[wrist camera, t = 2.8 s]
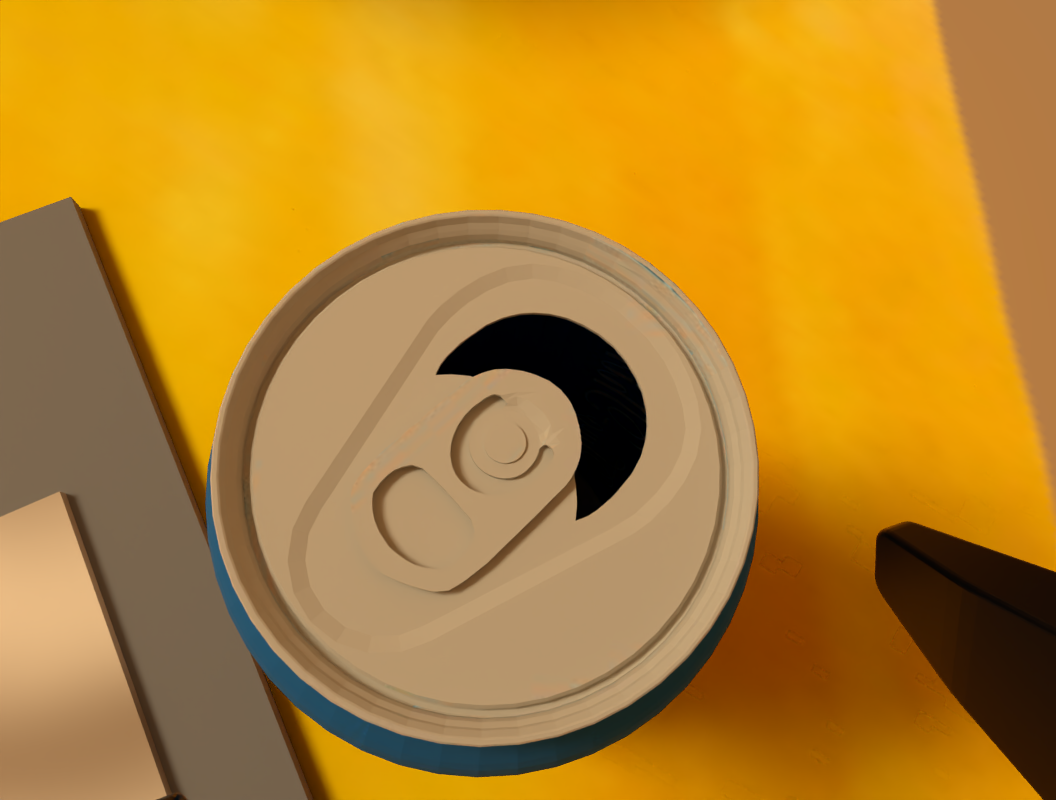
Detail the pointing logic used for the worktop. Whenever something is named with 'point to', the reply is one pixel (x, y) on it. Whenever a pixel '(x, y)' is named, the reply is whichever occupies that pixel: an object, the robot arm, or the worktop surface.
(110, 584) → the mat
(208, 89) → the worktop surface
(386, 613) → the beverage can
